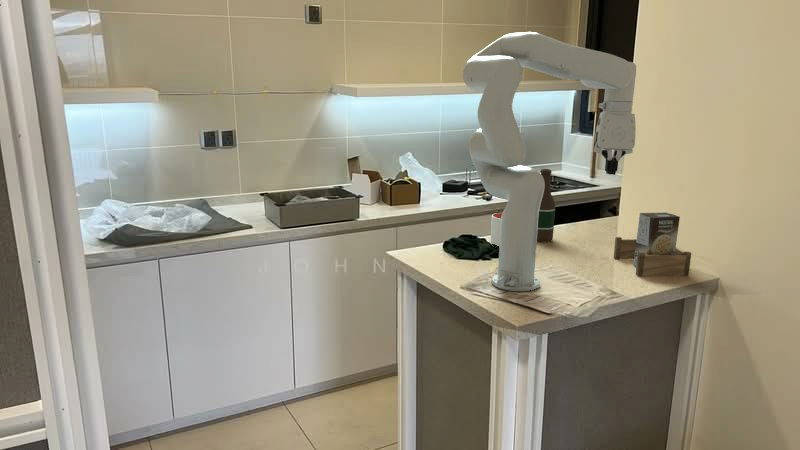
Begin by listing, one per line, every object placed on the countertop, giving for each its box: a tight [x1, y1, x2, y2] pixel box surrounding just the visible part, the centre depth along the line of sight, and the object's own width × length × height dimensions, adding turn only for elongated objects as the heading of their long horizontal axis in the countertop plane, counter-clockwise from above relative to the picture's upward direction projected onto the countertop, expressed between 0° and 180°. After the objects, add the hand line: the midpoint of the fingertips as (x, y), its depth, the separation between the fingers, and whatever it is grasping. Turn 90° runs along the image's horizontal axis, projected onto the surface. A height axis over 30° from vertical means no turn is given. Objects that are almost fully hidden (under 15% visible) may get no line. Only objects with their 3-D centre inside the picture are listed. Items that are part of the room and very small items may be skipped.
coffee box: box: [632, 212, 681, 268], centre depth 182 cm, size 9×6×16 cm
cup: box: [490, 212, 503, 246], centre depth 204 cm, size 10×10×10 cm
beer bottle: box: [537, 168, 556, 243], centre depth 211 cm, size 8×8×24 cm
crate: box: [613, 236, 692, 277], centre depth 185 cm, size 18×15×7 cm
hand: (610, 173), depth 178 cm, fingers closed
